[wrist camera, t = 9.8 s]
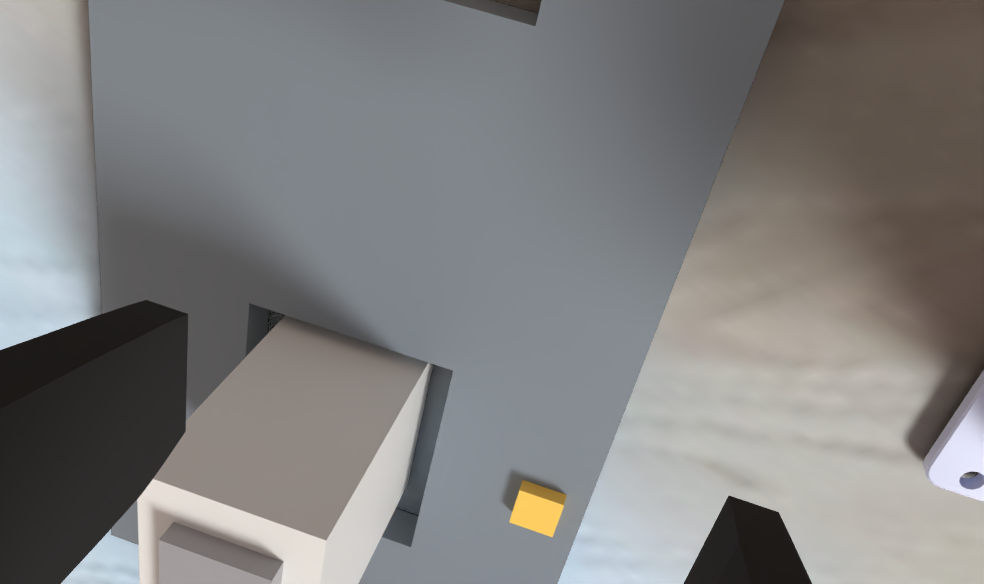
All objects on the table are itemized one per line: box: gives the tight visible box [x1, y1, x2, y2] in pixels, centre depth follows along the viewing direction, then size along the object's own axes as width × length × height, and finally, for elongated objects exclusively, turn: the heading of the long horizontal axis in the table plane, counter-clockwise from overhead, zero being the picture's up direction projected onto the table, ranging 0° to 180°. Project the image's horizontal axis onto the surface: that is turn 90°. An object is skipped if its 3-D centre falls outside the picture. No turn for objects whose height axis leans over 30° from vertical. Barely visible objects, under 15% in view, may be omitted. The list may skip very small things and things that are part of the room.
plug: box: [137, 315, 433, 584], centre depth 20 cm, size 4×5×8 cm
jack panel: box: [88, 0, 785, 584], centre depth 18 cm, size 14×30×2 cm, turn 168°
